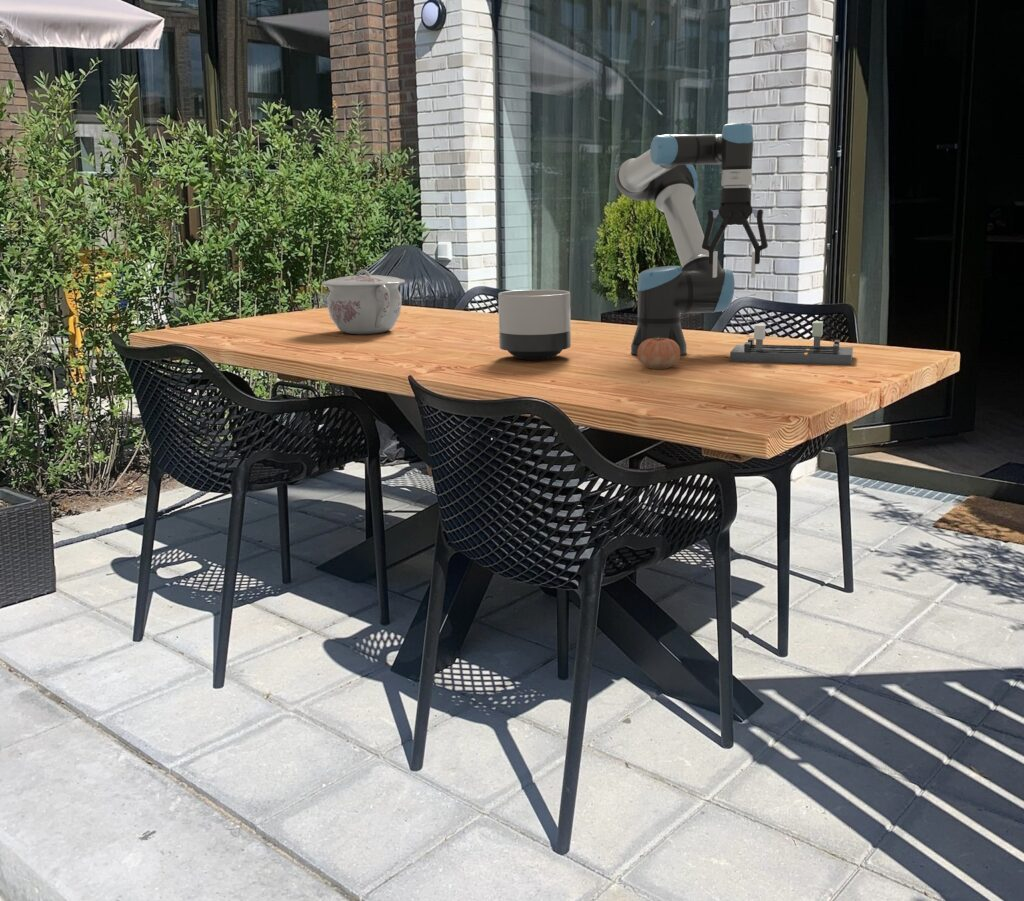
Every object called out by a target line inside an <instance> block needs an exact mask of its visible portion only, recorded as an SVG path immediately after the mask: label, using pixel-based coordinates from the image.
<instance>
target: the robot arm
mask: <svg viewBox="0 0 1024 901" xmlns="http://www.w3.org/2000/svg"><path fill="white" fill-rule="evenodd" d="M753 129H754V128H753V125H752V124H751V123H747V122H746V123H745V122H744V123H741V122H738V123H726V124H724V125H723V127H722V132H721V133H717V134H716V133H713V134H711V133H710V134H705V133H704V134H703V133H702V134H701V133H700V134H670V133H666V134H661V135H659V134H657V135H655V136H654V137H653V138H652V141H651V142H650V147H649V148H650V149H648V150H647V151H645V152H644V153H642V154H641V155H639V156H638V157H635V158H634V157H633V158H629V159H627V160H625V161H624V162H622V163H621V164H620V165H619V167H617V170H616V172H615V177H614V180H615V185H616V188H617V189H618V191H619V192H620V193H621V195H623V196H625V197H626V198H628V199H630V200H633V201H637V202H643V201H644V202H649V201H650V202H651V201H653V202H654V204H655V207H656V208H657V210H658V211H660V212H661V213H664V217H665V220H666V224H667V226H668V229H669V232H670V235H671V238H672V241H673V244H674V247H675V251H676V253H677V257H678V259H679V263H680V264H681V266H680V265H667V266H663V265H662V266H658V267H651V268H647V269H645V270H642V271H641V272H640V273H639V275H638V279H637V286H636V290H637V327H636V330H635V332H634V334H633V338H632V342H631V346H630V353H631V354H633V355H636V356H637V351H638V348H639V346H640V344H641V343H642V342H643V341H645V340H647V339H651V338H654V337H655V338H658V337H659V338H663V337H664V338H668V339H671V340H674V341H675V342H676V343H677V344H678V346H679V348H680V356H681V355H685V354H687V342H686V340H685V335H684V332H683V330H682V325H681V315H682V314H702V313H703V314H704V313H712V314H714V313H717V312H724V311H726V310H728V308H729V307H730V306H731V304H732V301H733V299H734V295H735V285H736V284H735V283H736V282H735V276H734V272H733V271H732V270H731V269H730V268H722V266H721V262H720V261H719V260H718V255H719V254H718V250H717V251H716V248H717V246H718V244H719V242H720V241H721V238H722V237H723V235H724V232H725V231H726V229H727V227H728V225H729V226H732V225H737V226H739V225H740V226H741V225H742V227H743V228H744V231H745V233H746V234H747V236H748V239H749V240H750V243H751V245H752V247H753V249H754V250H753V251H751V262H750V263H751V266H750V269H751V270H750V278H751V279H752V278H753V279H754V278H756V265H760V263H761V251H763V250H765V249H767V248H768V245H769V244H768V240H767V235H766V234H767V233H766V230H765V225H764V219H763V217H764V210H763V209H761V208H759V209H758V208H757V209H756V208H753V206H752V189H751V187H750V186H752V181H753V180H752V176H753V174H752V173H753V169H752V168H753V167H752V165H753V149H754V148H753V146H754V145H753V144H754V143H753V142H754V135H753V134H754V133H753ZM694 165H711V166H716V165H717V166H721V176H720V177H721V178H720V180H721V181H720V182H721V183H720V185H721V187H722V188H721V190H720V206H719V208H718V209H714V210H713V209H709V210H708V211H707V215H708V216H707V217H708V221H707V224H706V229H705V232H703V229H702V225H701V223H700V221H699V218H698V215H697V211H696V209H695V205H694V203H693V201H694V199H695V197H696V195H697V192H698V187H699V182H698V174H697V170H696V169H695V167H694ZM752 214H753V216H754V218H756V224H757V228H758V233H759V238H760V244H759V242H758V240H757V238H756V235H755V233H754V232H753V229H752V227H751V225H750V223H749V220H748V219H749V218H750V216H751V215H752ZM718 215H720V217H721V218H722V222H721V224H720V227H719V229H718V231H717V232H716V234H715V236H714V238H713V240H712V242H711V244H710V240H711V236H712V231H713V227H714V224H715V219H717V218H718Z"/></svg>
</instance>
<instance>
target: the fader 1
mask: <svg viewBox="0 0 1024 901" xmlns="http://www.w3.org/2000/svg"><path fill="white" fill-rule="evenodd" d="M753 331H754V332H753V338H754V340H755V345H756V350H763V345H764V340H765V338H766V323H755V324H754V326H753Z"/></svg>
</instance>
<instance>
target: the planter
mask: <svg viewBox="0 0 1024 901" xmlns="http://www.w3.org/2000/svg"><path fill="white" fill-rule="evenodd" d="M497 299H498V333H499V334H498V336H499V337H498V338H499V339H498V340H499V341H498V342H499V344H498V345H499V349H501V350H502V351H507V352H508V353H509V354H510V355H512V356H513V357H515V358H517V359H520V360H524V361H545V360H549V359H551V358H554V357H556V356H557V355H559V354H560V353H561V352H562V351H563V350H567V349H570V348H571V346H572V344H571V338H572V337H571V331H572V330H571V292H570V291H569V290H563V289H516V290H514V289H513V290H506V291H501V292H498V298H497Z"/></svg>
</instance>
